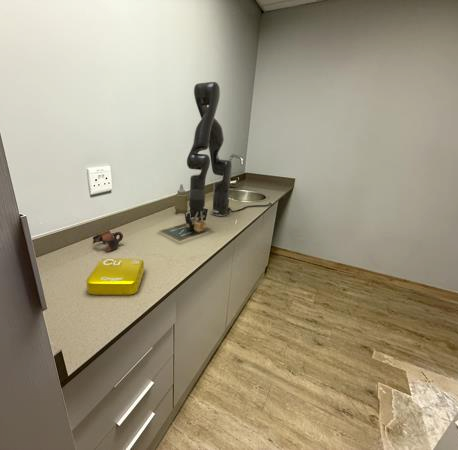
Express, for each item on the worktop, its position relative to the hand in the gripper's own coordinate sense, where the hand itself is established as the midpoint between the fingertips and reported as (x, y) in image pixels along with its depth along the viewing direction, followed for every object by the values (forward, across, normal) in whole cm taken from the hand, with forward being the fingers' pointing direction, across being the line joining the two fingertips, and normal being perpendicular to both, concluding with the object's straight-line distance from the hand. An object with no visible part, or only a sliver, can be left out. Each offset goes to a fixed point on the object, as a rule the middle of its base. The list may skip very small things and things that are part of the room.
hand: (195, 229), depth 121 cm
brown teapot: (+2, -40, +12) cm, 41 cm away
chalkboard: (+1, -4, +3) cm, 5 cm away
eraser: (0, 0, 0) cm, 0 cm away
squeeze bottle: (+2, +14, +29) cm, 32 cm away
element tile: (+2, -49, -14) cm, 51 cm away
